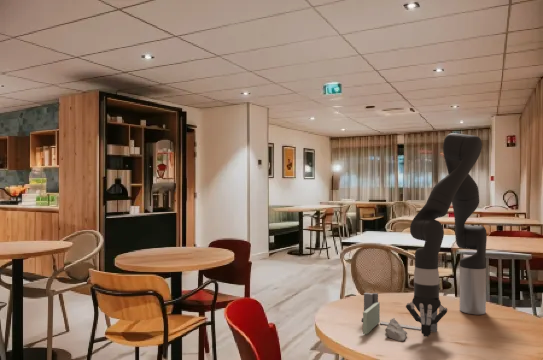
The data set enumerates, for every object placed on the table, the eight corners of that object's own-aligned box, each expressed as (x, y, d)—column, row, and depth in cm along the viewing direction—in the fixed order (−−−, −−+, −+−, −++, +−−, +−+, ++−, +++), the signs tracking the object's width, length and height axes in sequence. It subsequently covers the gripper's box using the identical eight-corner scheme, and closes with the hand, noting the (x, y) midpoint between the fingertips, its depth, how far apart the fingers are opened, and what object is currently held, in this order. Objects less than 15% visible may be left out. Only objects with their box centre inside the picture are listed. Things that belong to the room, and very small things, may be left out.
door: (379, 322, 149) (379, 302, 149) (366, 334, 137) (366, 312, 137) (372, 321, 150) (372, 301, 150) (359, 333, 138) (359, 311, 138)
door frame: (365, 319, 154) (365, 291, 154) (437, 329, 143) (437, 300, 143) (363, 321, 151) (363, 293, 151) (436, 332, 140) (436, 302, 140)
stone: (409, 331, 143) (409, 319, 143) (405, 342, 132) (405, 329, 132) (390, 328, 146) (389, 316, 146) (384, 339, 134) (384, 326, 135)
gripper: (403, 281, 134) (402, 336, 134) (447, 286, 128) (447, 343, 128) (406, 276, 141) (406, 328, 141) (449, 281, 135) (449, 335, 135)
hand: (426, 335), depth 135 cm, fingers closed
